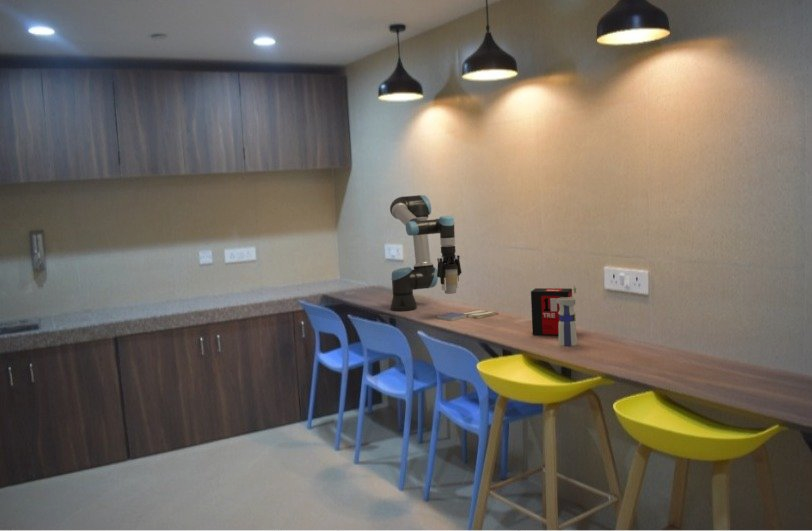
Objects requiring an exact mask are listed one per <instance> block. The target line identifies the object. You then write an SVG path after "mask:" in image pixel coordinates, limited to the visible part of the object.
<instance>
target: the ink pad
mask: <svg viewBox="0 0 812 531" xmlns="http://www.w3.org/2000/svg"><path fill="white" fill-rule="evenodd" d="M436 318H437V320H443V321H447V322H448V321H449V322H452V321H457V320H461V319H465V318H468V317H467V315H466V314H461V313H459V312H448V313H447V312H446V313H443V314H439V315H436Z"/></svg>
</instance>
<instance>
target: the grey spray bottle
mask: <svg viewBox="0 0 812 531" xmlns="http://www.w3.org/2000/svg"><path fill="white" fill-rule="evenodd" d="M575 286H576V285H574V286H573V288H572V291H573V294H574V295H575V294H577V287H575ZM557 303H558V304H559V307H560V310H559V312H558V314H559V325H558V328H559V336H558V341H557V342H558V343H557V344H558V345H559V346H561V347H573V346H577V345H578V340H577V339H578V338H577V324H576V321H577V320H576V319H577V317H576V316H577V314H576V311H575V307H574V306H575V305H576V298H575V297H573V296H572V297H562V298H558V299H557Z"/></svg>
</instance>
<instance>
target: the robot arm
mask: <svg viewBox="0 0 812 531" xmlns="http://www.w3.org/2000/svg"><path fill="white" fill-rule="evenodd" d="M389 211H390V215H391V216H392V217H393V218H395V219H396V220H399V221H400V222H401V224H403V225H404V226H405V231H406V234H407V235H408V236H412V239H413V249H414V250H413V251H414V257H415V263H414V264H413V267H408V266H407V267H402V268H397V269H394V270H393V271H392V272H391V284H392V286H391V287H392V289H391V290H392V299H391V303H390V311H393V312H394V311H395V312H407V311H413V310H417V308H418V304H417V302H416V299H415V296H414V294H413V293H414V291H415V290H423V289H431V288H435V287H436V285H437V283H438V280H440V284H441V290H442V291H444V292H445V291H446V278H444V277H445V273H446V272H445V270H444V269H442V267H443V265H448V264H449V263H450V264H457V266H458V268H457V273H458V274H457V288H456V289H459V281H460V280H459V279H460V277H459V276H460V275H461V274H462V267H461V261H460V257H461V256H460V255H459V254H458V255H457V254H455V253H456V246H455V245H456V239H455V238H456V237H455V236H456V235H455V232H456V231H455V218H454V216H453V215H443V216H442V215H441V216H439V218H435V219H429V215H430V214H432V204H431V202H430V199H429V198H428V197H427V196H426V195H422V194H421V195H408V196H407V195H406V196H398V197H396V198H395V199H394V200H393V201H392V202H391V203H390V206H389ZM434 234H439V237H440V253H441V257H438V258H437V259H436V260H437V267H435V266H434V263H433V262H431V255H430V245H429V236H428V235H434ZM412 268H413V269H412ZM439 278H440V279H439Z"/></svg>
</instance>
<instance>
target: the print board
mask: <svg viewBox="0 0 812 531" xmlns="http://www.w3.org/2000/svg"><path fill="white" fill-rule="evenodd" d="M460 314H466V315H467V318H470V319H477V320H480V319H484V318H487V317H493V316H497V315H499V312H498V311H492V310H483V309H474V310H470V311H466V312H462V313H460Z"/></svg>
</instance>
